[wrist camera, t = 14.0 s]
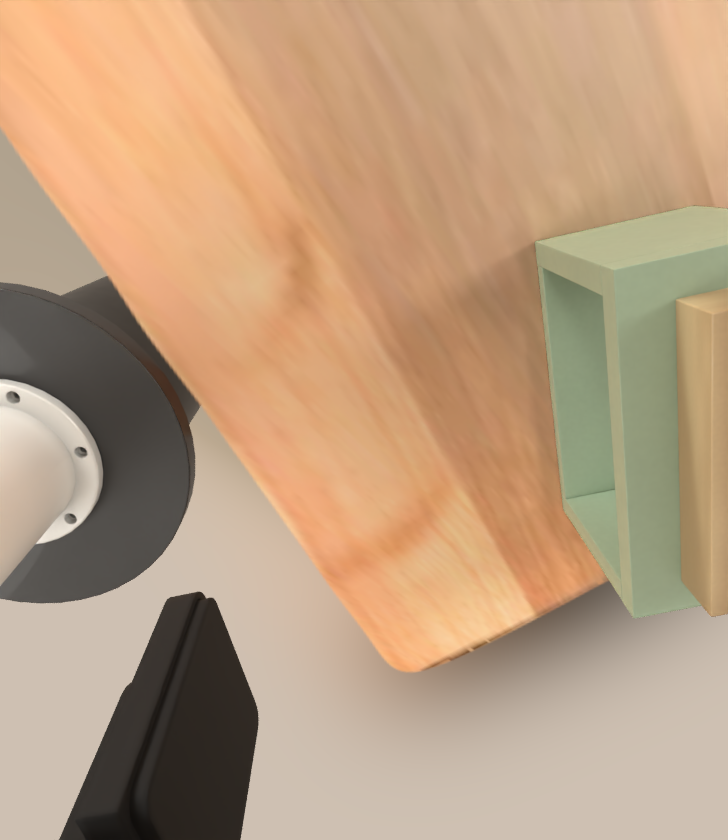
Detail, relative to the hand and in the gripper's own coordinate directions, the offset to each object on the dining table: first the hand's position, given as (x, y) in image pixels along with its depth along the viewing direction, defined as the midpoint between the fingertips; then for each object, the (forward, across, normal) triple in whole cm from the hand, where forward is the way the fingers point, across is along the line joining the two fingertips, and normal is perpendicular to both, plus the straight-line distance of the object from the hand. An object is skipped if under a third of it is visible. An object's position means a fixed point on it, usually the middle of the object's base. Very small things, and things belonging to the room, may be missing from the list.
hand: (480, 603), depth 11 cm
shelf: (+30, -15, +9) cm, 35 cm away
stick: (+18, -14, +9) cm, 25 cm away
